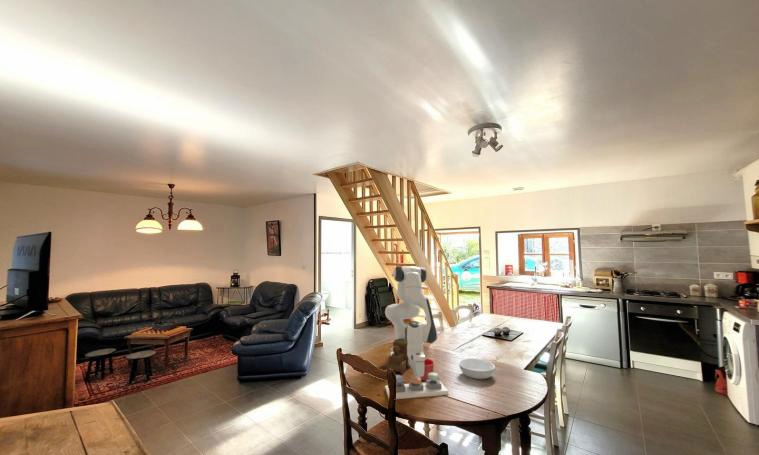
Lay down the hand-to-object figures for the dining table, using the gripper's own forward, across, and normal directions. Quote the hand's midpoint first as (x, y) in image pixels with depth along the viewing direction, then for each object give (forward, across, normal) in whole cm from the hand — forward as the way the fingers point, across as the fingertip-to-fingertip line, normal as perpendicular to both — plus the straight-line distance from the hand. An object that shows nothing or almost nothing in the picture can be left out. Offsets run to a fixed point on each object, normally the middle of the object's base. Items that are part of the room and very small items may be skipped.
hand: (415, 378), depth 166 cm
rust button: (+4, 0, 0) cm, 4 cm away
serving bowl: (+7, -14, +42) cm, 45 cm away
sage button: (+3, 0, +10) cm, 10 cm away
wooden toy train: (+7, -33, -2) cm, 34 cm away
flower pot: (+7, -16, +10) cm, 20 cm away
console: (+7, 0, 0) cm, 7 cm away
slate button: (+3, 0, -10) cm, 11 cm away
